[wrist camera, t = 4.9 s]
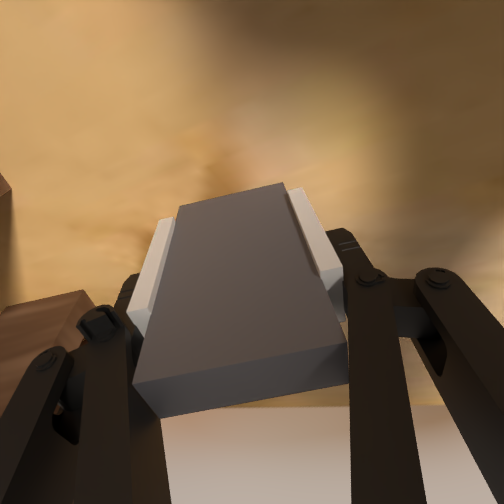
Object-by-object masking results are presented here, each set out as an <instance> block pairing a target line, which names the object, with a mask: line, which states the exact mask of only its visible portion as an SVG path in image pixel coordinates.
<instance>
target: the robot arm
mask: <svg viewBox="0 0 504 504" xmlns="http://www.w3.org/2000/svg"><path fill="white" fill-rule="evenodd" d="M287 192H288V198H289V200H290V203H291V205H292V208H293V210H294V213H295V215H296V218H297V220H298V223H299V225H300V228H301V230H302V233H303V235H304V238H305V240H306V243H307V245H308V248H309V250H310V253H311V255H312V258H313V261H314V263H315V266H316V268H317V271H318V273H319V276H320V278H321V279H322V281H323V283H324V286H325V288H326V291H327V293H328V295H329V298H330V300H331V303H332V305H333V308H334V310H335V313H336V315H337V318H338V320H339V323H340V322H345V321H346V317H345V313H346V315H347V318H348V345H349V398H350V449H351V501H352V502H351V504H427V501H426V495H425V490H424V484H423V478H422V472H421V466H420V460H419V455H418V449H417V443H416V437H415V431H414V426H413V420H412V413H411V408H410V402H409V396H408V390H407V384H406V378H405V372H404V367H403V361H402V355H401V349H400V343H399V337H408V338H411V340H412V342H413V344H414V346H415V348H416V350H417V351H418V353H419V355H420V357H421V359H422V361H423V363H424V365H425V367H426V369H427V370H428V372H429V374H430V376H431V378H432V380H433V382H434V384H435V386H436V388H437V389H438V391H439V393H440V395H441V397H442V399H443V401H444V403H445V405H446V406H447V408H448V410H449V412H450V414H451V416H452V418H453V420H454V422H455V423H456V425H457V427H458V429H459V431H460V433H461V435H462V437H463V439H464V441H465V443H466V444H467V446H468V448H469V450H470V452H471V454H472V456H473V458H474V460H475V461H476V463H477V465H478V467H479V469H480V471H481V473H482V475H483V477H484V479H485V480H486V482H487V484H488V486H489V488H490V490H491V492H492V494H493V496H494V498H495V499H496V501H497V503H498V504H504V328H503V326H502V325H501V324H500V323H499V322H498V321H497V319H496V318H495V317H494V316H493V315H492V314H491V312H490V311H489V310H488V309H487V308H486V307H485V305H484V304H483V303H482V302H481V301H480V300H479V299H478V297H477V296H476V295H475V294H474V293H473V292H472V290H471V289H470V288H469V287H468V286H467V285H466V283H465V282H464V281H463V280H462V279H461V278H460V277H459V276H458V275H457V274H455V273H454V272H452V271H449V270H447V269H442V268H427V269H423V270H421V271H420V272H418V273H417V274H416V277H415V279H395V278H390V277H387V275H386V274H385V273H384V272H382V271H381V270H378V269H376V268H374V267H373V265H372V264H371V262H370V261H369V259H368V258H367V256H366V255H365V253H364V251H363V250H362V248H361V247H360V245H359V244H358V242H357V241H356V239H355V238H354V236H353V234H352V233H351V232H349V231H347V230H346V229H344V228H339V229H335V230H330V231H324V229H323V227H322V225H321V223H320V221H319V219H318V217H317V215H316V213H315V211H314V210H313V208H312V206H311V204H310V202H309V200H308V198H307V196H306V194H305V192H304V190H303V188H302V187H300V188H296V189H292V190H287ZM175 224H176V222H175V219H174V217H170V218H165V219H161V220H159V222H158V225H157V228H156V231H155V233H154V236H153V239H152V242H151V245H150V247H149V250H148V253H147V256H146V258H145V261H144V264H143V267H142V270H141V272H140V273H137V274H133V275H130V277H129V278H128V279H127V280H126V281H125V282H124V284H123V286H122V288H121V291H120V293H119V296H118V298H117V299H118V300H116V303H115V305H114V308H113V307H112V306H110V305H100V306H97V307H95V308H93V309H91V310H89V311H88V312H86V313H85V314H84V315H83V316H82V317H81V318H80V319H79V320H78V322H77V325H76V328H77V329H78V330H79V331H80V333H81V334H82V335H83V336H84V337H85V339H86V340H87V341H88V343H87V344H85V345H83V346H81V347H79V348H77V349H75V350H72V351H70V352H68V351H67V350H66V349H65V348H64V347H62V346H54V347H51V348H49V349H46V350H45V351H43V352H42V353H40V354H39V355H38V356H37V357H35V358H34V359H33V360H32V362H31V363H30V365H29V366H28V368H27V369H26V371H25V373H24V375H23V377H22V379H21V381H20V382H19V384H18V386H17V388H16V390H15V392H14V394H13V395H12V397H11V399H10V401H9V403H8V405H7V407H6V408H5V410H4V412H3V414H2V416H1V418H0V504H72V503H73V500H74V503H73V504H171V497H170V490H169V482H168V474H167V468H166V460H165V452H164V445H163V437H162V429H161V422H160V419H159V418H158V416H157V415H156V414H155V413H154V411H153V410H152V409H151V408H150V406H149V405H148V404H147V403H146V401H145V400H144V399H143V398H142V396H141V395H140V394H139V393H138V391H137V390H136V389H135V388H134V386H133V385H132V382H133V378H134V374H135V370H136V367H137V363H138V359H139V356H140V352H141V348H142V344H143V341H144V337H145V333H146V330H147V326H148V322H149V318H150V315H151V314H152V310H153V306H154V302H155V299H156V295H157V291H158V287H159V284H160V280H161V276H162V272H163V269H164V265H165V261H166V257H167V254H168V250H169V246H170V242H171V239H172V235H173V231H174V227H175ZM57 404H58V405H59V406H60V408H59V410H58V412H57V414H54V411H55V408H56V406H57Z"/></svg>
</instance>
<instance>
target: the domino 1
mask: <svg viewBox="0 0 504 504" xmlns="http://www.w3.org/2000/svg"><path fill="white" fill-rule="evenodd" d="M9 190H11V187H10V186H9V184H8V183H7V182H6V180H5V179H4V177H3V176H2V175H1V173H0V197H1V196H2V195H4V194H5V193H7V192H8V191H9Z"/></svg>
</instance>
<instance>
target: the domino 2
mask: <svg viewBox="0 0 504 504" xmlns="http://www.w3.org/2000/svg"><path fill="white" fill-rule="evenodd" d="M95 307H96V306H95V305H94V304H93V302H92V301H91V299H90V298H89V297H88V295H87V294H86V292H85V291H84V290H79V291H74V292H70V293H66V294H61V295H57V296H52V297H48V298H43V299H39V300H35V301H30V302H26V303H21V304H17V305H13V306H8V307H6V308H5V309H4V311H3V312H2V313H1V314H0V418H1V416H2V414H3V412H4V410H5V408H6V407H7V405H8V403H9V401H10V399H11V397H12V395H13V394H14V392H15V390H16V388H17V386H18V384H19V382H20V381H21V379H22V377H23V375H24V373H25V371H26V369H27V368H28V366H29V365H30V363H31V362H32V360H33V359H34V358H35V357H37V356H38V355H39V354H40V353H42V352H43V351H45V350H46V349H49V348H51V347H54V346H62V347H64V348H65V349H66V350H67V351H68V352H70V351H72V350H75V349H77V348H79V346H80V344H81V342H82V340H83V337H84V336H83V335H82V334H81V333H80V331H79V330H78V329H77V328H76V325H77V322H78V320H79V319H80V318H81V317H82V316H83V315H84V314H85V313H86V312H88V311H89V310H91V309H93V308H95Z"/></svg>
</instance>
